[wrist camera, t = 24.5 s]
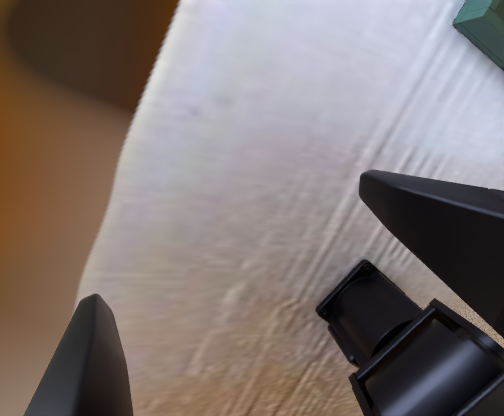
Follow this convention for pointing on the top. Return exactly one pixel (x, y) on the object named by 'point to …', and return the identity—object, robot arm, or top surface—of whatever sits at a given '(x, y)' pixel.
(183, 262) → the top surface
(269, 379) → the top surface
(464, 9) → the tray
